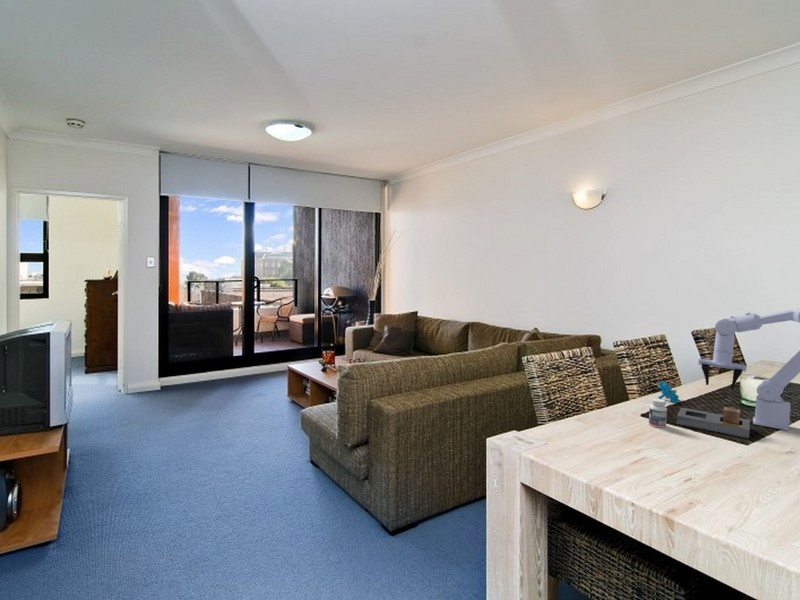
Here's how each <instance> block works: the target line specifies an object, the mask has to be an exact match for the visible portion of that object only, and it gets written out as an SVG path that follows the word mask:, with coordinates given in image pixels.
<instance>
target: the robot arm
mask: <svg viewBox="0 0 800 600" xmlns="http://www.w3.org/2000/svg"><path fill="white" fill-rule="evenodd" d="M790 321H792V322H796V323H800V308H793V309H789V310H782V311H779V312H774V313H769V314H764V315H759V314H756V313H751V312H746V313H745V314H744V315H739V316H734V315H733V316H729V318H723V319H720V320H718V321H717V322H716V323H715V325H714V329H715V339H714V349H713V356H712V357H713V358H712V359H704V358H703V359H702V358H698V365H700V367H701V370H702V373H703V376H704V379H705V386H709V383H710V370H711V369H710V368H711V367H715V368H721V369H723V368H724V369H728V370H733V374H732V382H731V387H730V389H731V390H734V388H735V385H736V383H737V381H738V380H739V377H740V376H741V375H742V374H743V372H747V365H745V364H739V363H735V362H733V355H734V346H735V345H734V344H735V333H743V332H744V333H746V332H750V331H756V330H760V329H761V327H762V326H763V325H768V324H775V323H776V324H777V323H783V322H790ZM799 374H800V350H798V351H797V352H796V353H795V355H793V356H792V357H791V358H790V359H789V360H788V361H787V362H786V363H785V364H784V365H783V366H782V367H780V369H778V371H777V372H775V374H773V376H771V377H769V378H766V379H764V380H763V381H762V382H761V383H760V384H759V385H757V388H756V393H757V395H756V399H755V410H754V411H755V412H754V416H753V417H752V425H757V426H762V427H769V428H773V429H778V430H785V431H789V429H790V428H789V426H790V424H791V418H790V417H791V416H790V414H791V402H788V401H787V402H786V401H784V399H783V398H782V397H781V394H783V392H784V389H785V387H786V386H788V384H789V383H790V382H792V380H794V379H795V378H796V377H797V376H798V375H799Z"/></svg>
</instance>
